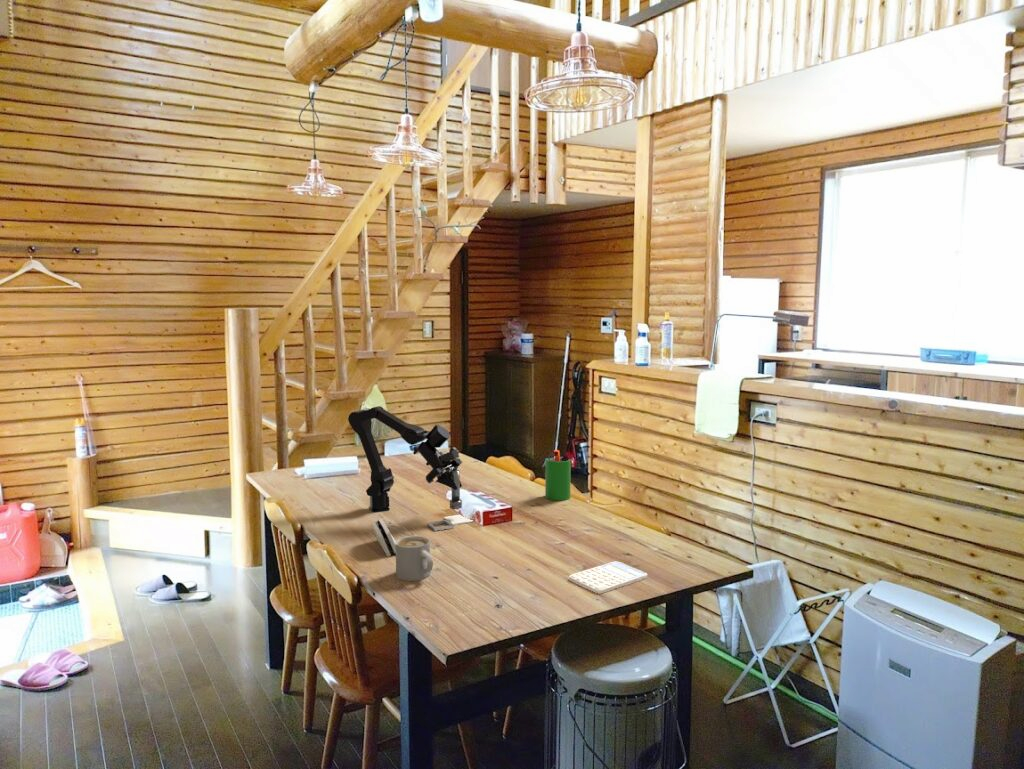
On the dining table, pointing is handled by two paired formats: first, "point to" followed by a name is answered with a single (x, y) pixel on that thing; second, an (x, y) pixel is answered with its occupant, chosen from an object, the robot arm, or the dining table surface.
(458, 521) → the mat
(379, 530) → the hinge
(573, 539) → the dining table surface
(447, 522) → the gray square frame
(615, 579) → the calculator
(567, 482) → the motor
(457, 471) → the grey metal post
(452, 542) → the dining table surface
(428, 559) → the coffee mug
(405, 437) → the robot arm
